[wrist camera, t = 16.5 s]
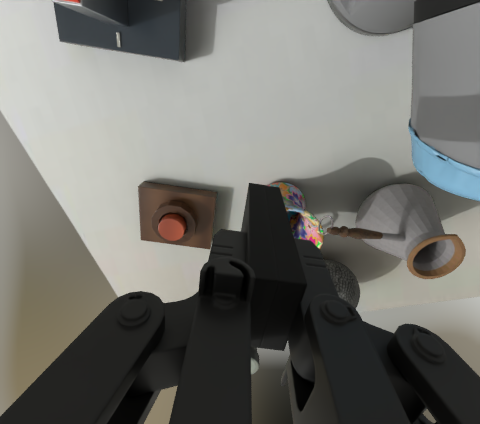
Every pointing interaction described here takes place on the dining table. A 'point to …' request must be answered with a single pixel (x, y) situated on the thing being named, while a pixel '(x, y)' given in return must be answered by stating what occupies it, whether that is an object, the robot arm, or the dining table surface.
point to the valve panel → (130, 29)
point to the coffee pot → (406, 230)
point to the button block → (178, 202)
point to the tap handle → (100, 9)
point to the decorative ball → (344, 282)
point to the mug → (300, 214)
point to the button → (172, 227)
